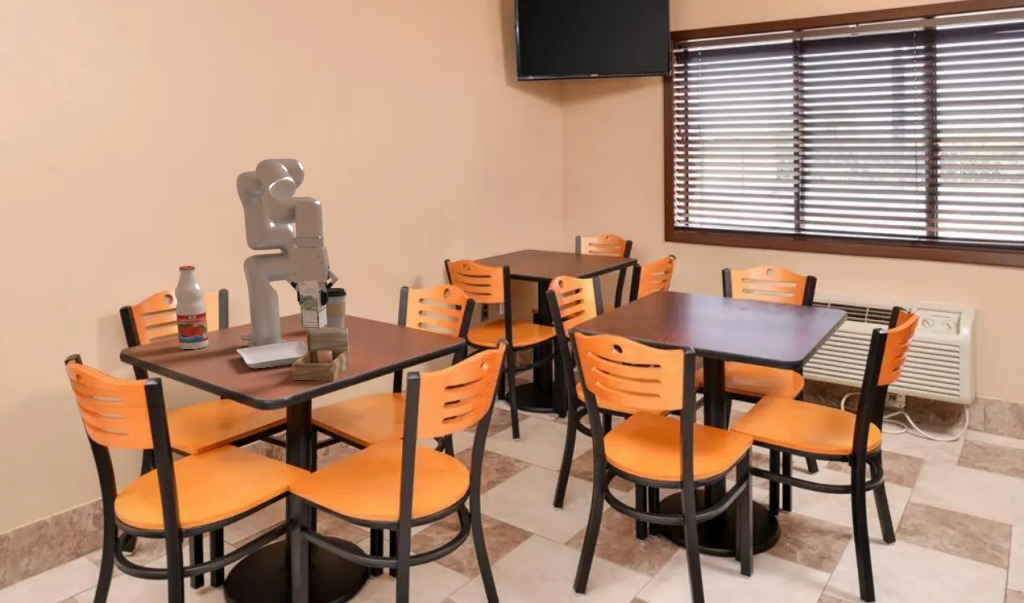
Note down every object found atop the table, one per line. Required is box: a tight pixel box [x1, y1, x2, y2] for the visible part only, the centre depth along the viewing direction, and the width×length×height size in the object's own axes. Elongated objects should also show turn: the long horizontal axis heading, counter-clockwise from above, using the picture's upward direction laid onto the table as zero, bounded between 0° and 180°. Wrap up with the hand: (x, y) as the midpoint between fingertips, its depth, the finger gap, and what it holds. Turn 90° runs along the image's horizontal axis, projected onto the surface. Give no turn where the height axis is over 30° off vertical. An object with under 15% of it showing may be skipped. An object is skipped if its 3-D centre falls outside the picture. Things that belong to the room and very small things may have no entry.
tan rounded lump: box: [317, 349, 333, 364], centre depth 235 cm, size 4×4×6 cm
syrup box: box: [299, 280, 327, 329], centre depth 225 cm, size 6×6×14 cm
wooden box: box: [291, 327, 351, 382], centre depth 231 cm, size 17×12×12 cm
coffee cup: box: [326, 287, 347, 328], centre depth 291 cm, size 9×9×15 cm
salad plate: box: [236, 340, 308, 369], centre depth 248 cm, size 21×21×3 cm
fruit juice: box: [174, 265, 210, 350], centre depth 264 cm, size 9×9×28 cm
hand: (313, 303), depth 225 cm, fingers closed on syrup box, 6 cm apart
